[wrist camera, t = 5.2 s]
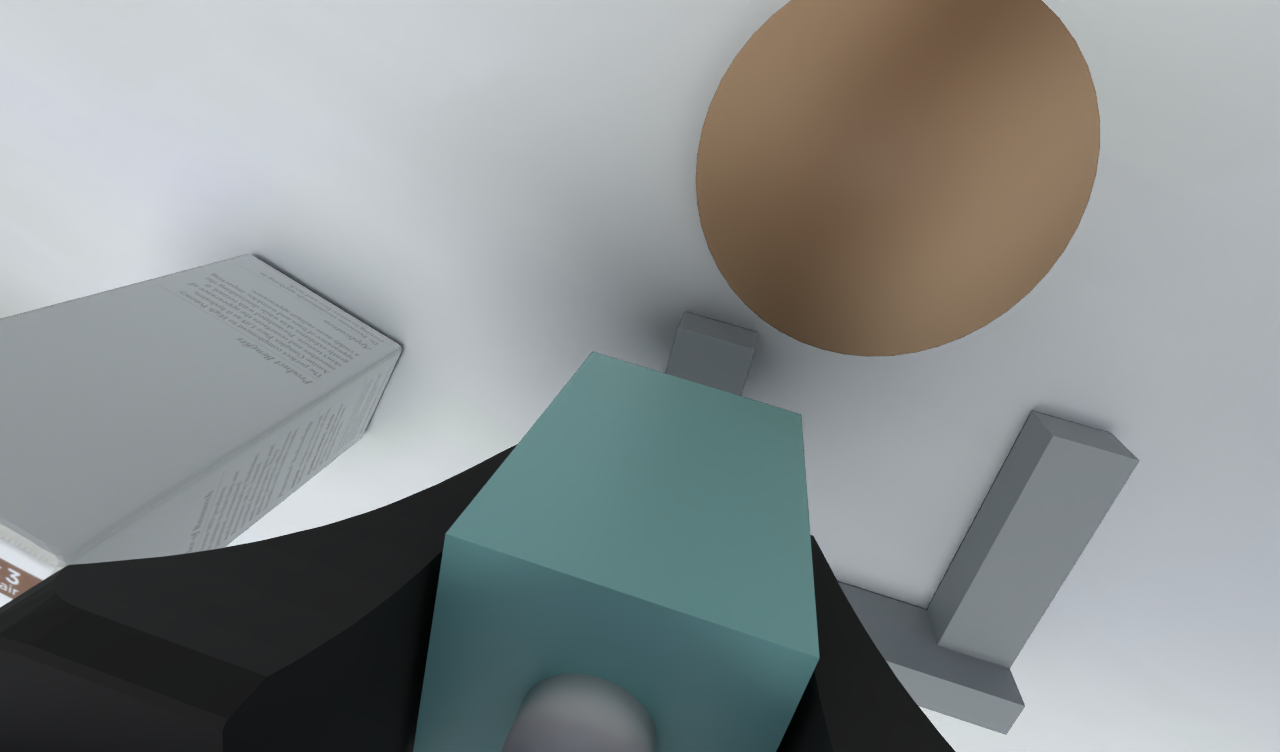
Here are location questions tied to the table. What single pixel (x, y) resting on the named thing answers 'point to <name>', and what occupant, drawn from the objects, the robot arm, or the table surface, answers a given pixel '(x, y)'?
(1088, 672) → the table surface
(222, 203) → the table surface
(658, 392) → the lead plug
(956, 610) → the gray u-shaped block
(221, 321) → the skincare box
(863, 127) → the spool
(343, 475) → the table surface
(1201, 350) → the table surface
